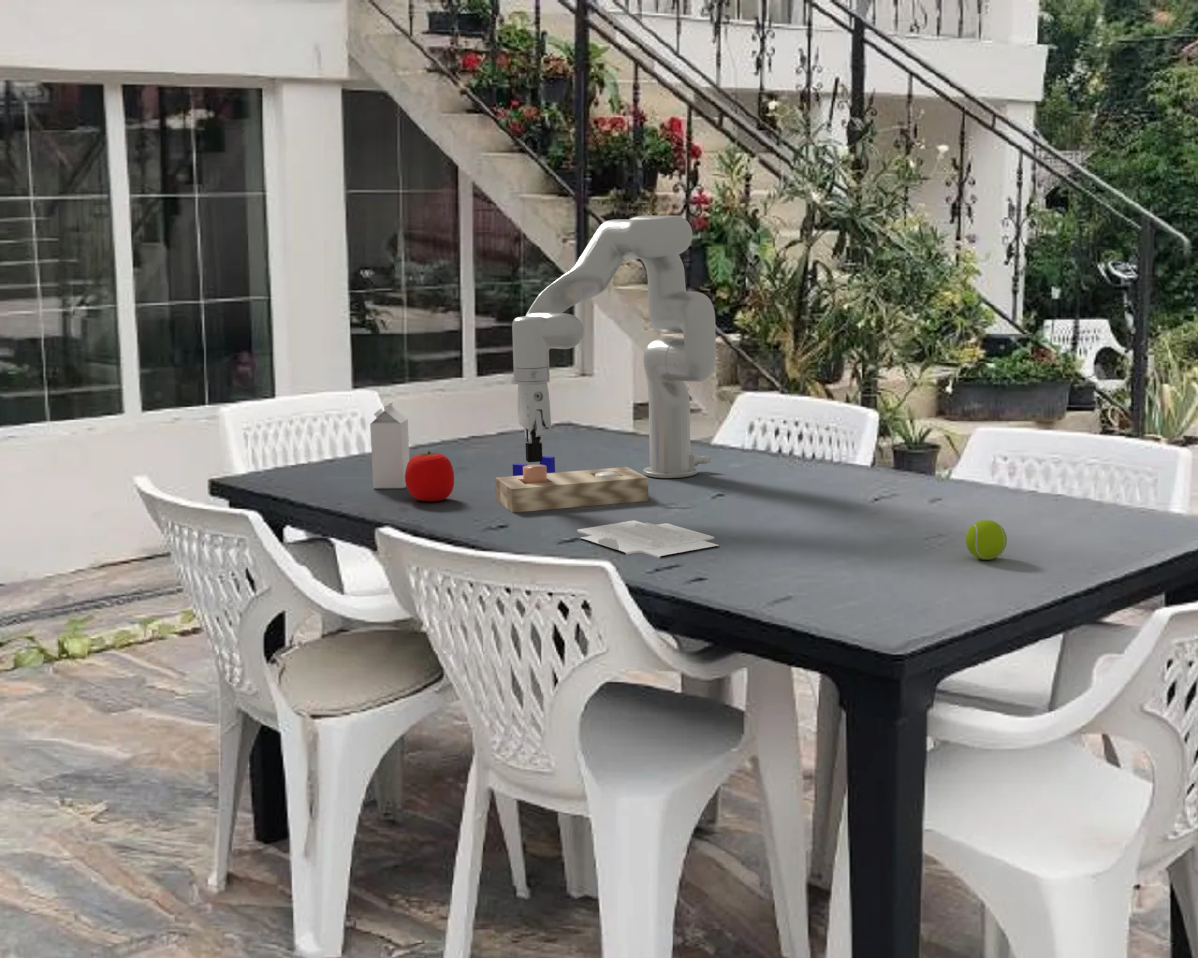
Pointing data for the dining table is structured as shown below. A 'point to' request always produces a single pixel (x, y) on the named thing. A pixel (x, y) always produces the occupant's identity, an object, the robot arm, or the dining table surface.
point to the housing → (572, 490)
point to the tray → (647, 538)
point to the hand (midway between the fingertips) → (534, 461)
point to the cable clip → (546, 461)
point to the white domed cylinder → (606, 474)
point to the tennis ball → (986, 539)
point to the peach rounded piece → (534, 474)
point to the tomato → (429, 477)
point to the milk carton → (389, 448)
